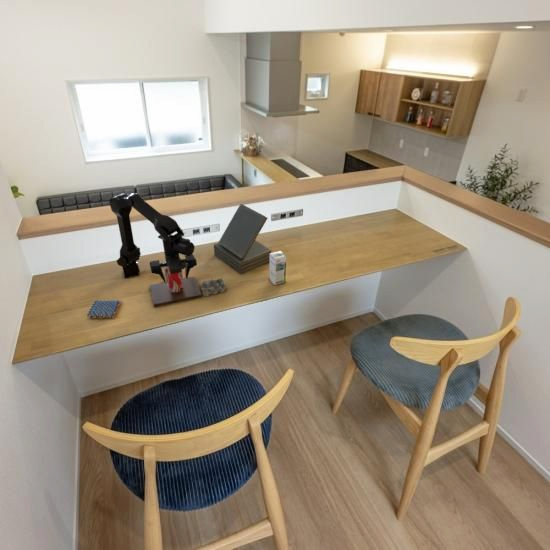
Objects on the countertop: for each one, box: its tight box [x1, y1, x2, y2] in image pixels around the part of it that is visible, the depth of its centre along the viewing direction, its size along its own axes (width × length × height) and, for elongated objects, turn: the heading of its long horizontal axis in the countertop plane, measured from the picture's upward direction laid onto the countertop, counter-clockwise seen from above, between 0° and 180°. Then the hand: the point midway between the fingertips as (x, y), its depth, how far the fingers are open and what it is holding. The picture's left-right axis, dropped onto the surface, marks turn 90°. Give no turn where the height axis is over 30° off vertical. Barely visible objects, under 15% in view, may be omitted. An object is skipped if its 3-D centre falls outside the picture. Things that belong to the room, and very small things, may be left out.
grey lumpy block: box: [199, 277, 227, 297], centre depth 162 cm, size 11×8×4 cm
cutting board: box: [149, 276, 202, 308], centre depth 160 cm, size 20×15×2 cm
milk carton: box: [269, 250, 287, 286], centre depth 166 cm, size 6×6×14 cm
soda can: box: [164, 267, 184, 292], centre depth 157 cm, size 7×7×12 cm
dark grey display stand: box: [213, 203, 272, 275], centre depth 180 cm, size 23×20×25 cm
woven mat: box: [86, 299, 121, 320], centre depth 149 cm, size 10×11×2 cm
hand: (175, 280), depth 158 cm, fingers open, 9 cm apart
